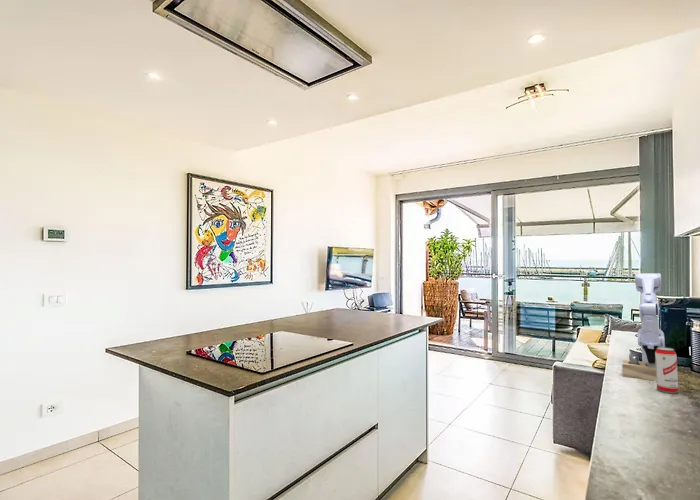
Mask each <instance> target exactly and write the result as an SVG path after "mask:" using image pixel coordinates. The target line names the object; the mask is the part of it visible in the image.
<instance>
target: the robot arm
mask: <svg viewBox="0 0 700 500" xmlns="http://www.w3.org/2000/svg"><path fill="white" fill-rule="evenodd" d="M634 282H635V283H634V285H635V290H636V291H637V292H639V293H641V294H640V297H639V298H640V303H639V304H638V306H639V307H638V308H639V309H638V311H639V316H640V320H641V321H640V323H641V328H639V329H638V330H637V345H638V346H639V347H641V356H642V357H641V358H642V360H641V362H648V363H653V364H655V363H656V361H655V351H656V350H657V347H665V348H666V343H665V333H664V332H663V330H662V329H660V328H659V316H660V308H659V304H658V297H657V296H658V295H657V293H660V292H661V290H662V274H661V273H660V272H658V273H650V272H649V273H640V272H639V273H638V272H637V273H635V274H634Z"/></svg>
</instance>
